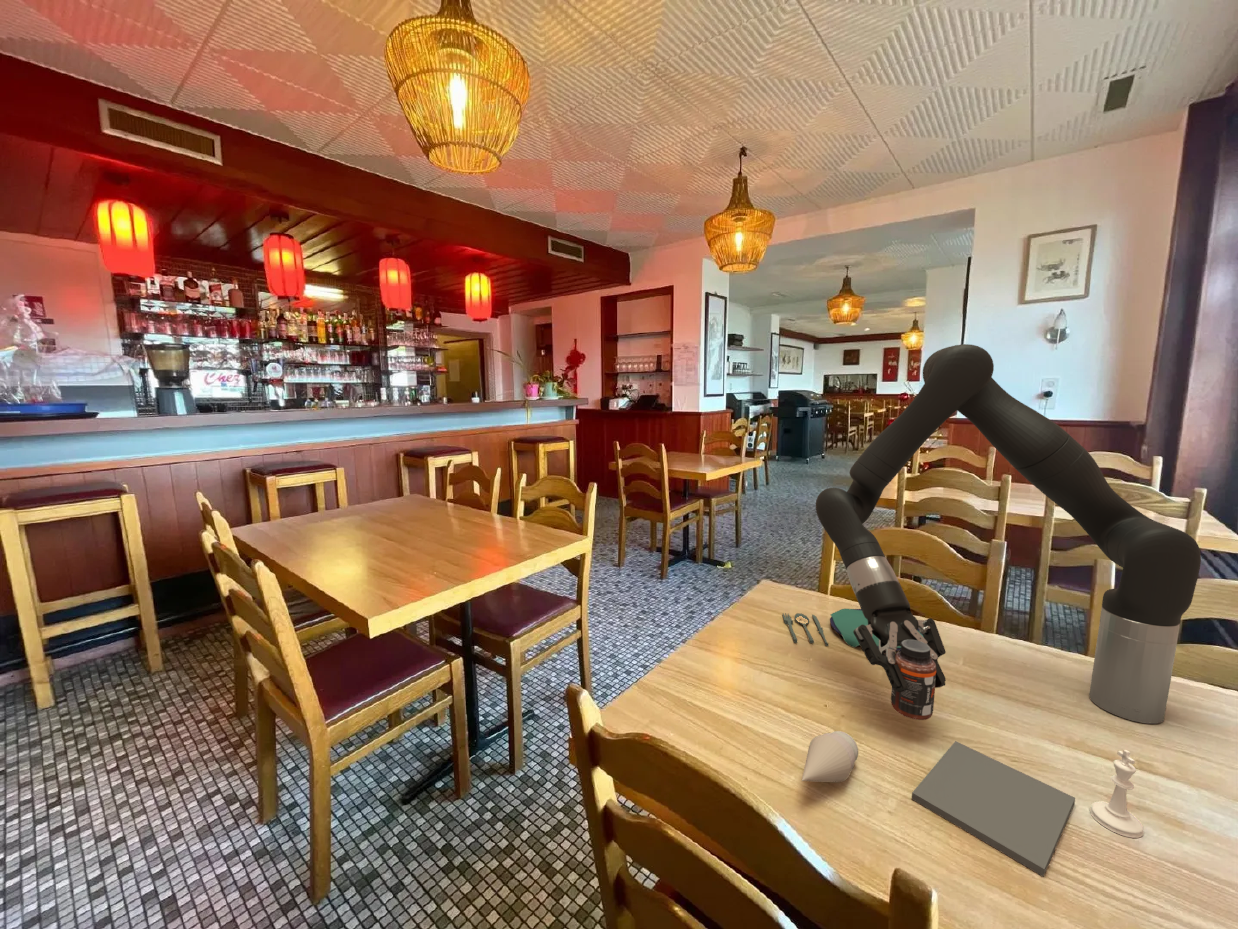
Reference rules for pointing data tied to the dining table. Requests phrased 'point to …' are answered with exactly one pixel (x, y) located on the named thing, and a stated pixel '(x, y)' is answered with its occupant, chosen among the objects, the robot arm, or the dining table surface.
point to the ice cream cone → (830, 757)
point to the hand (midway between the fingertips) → (921, 688)
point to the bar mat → (997, 805)
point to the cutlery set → (838, 626)
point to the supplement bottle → (915, 681)
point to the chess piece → (1119, 801)
